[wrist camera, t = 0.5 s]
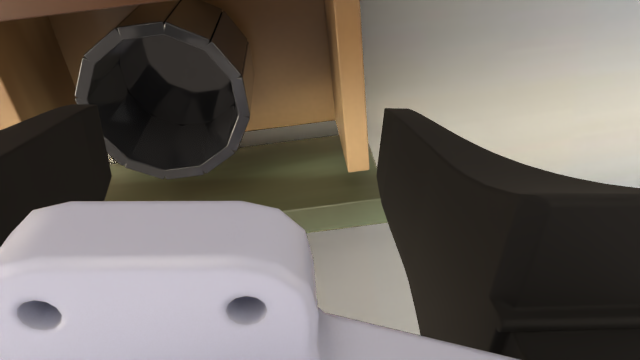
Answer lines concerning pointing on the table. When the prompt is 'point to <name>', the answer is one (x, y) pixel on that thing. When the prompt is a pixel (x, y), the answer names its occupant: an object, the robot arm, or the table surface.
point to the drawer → (266, 109)
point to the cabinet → (58, 7)
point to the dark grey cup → (170, 88)
